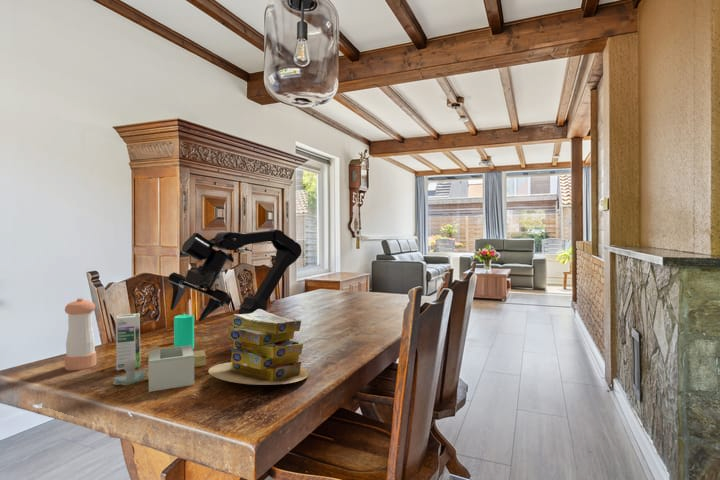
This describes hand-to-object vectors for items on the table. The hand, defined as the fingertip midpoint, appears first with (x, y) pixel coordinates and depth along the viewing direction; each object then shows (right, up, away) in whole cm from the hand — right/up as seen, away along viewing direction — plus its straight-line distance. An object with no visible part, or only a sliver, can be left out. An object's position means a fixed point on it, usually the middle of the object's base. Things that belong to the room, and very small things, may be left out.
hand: (185, 315), depth 116 cm
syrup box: (-14, -14, -4) cm, 20 cm away
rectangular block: (+5, -14, -1) cm, 14 cm away
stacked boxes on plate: (+25, -14, -13) cm, 32 cm away
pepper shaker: (-28, -14, -4) cm, 31 cm away
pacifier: (-7, -14, -16) cm, 22 cm away
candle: (-6, -13, +13) cm, 20 cm away
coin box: (+3, -14, -15) cm, 21 cm away
